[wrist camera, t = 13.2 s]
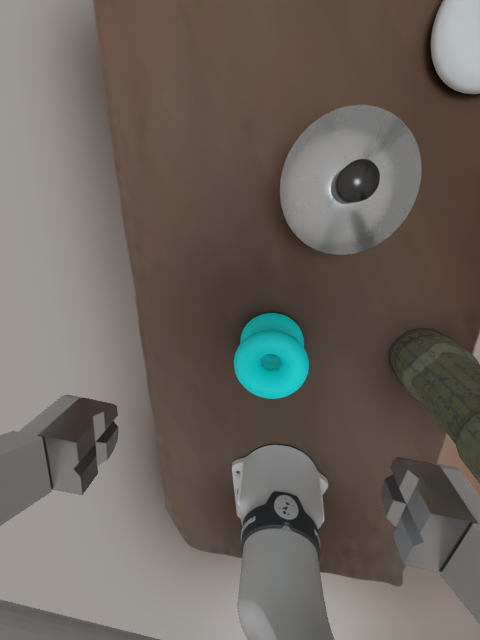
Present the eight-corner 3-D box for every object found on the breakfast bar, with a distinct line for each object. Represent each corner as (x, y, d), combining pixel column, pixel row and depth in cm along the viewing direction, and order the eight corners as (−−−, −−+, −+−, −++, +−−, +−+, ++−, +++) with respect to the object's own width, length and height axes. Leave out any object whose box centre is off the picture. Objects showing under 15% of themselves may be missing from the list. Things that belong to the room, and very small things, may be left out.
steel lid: (393, 259, 29) (415, 268, 25) (271, 246, 31) (270, 251, 26) (434, 114, 25) (473, 89, 20) (290, 105, 26) (293, 79, 21)
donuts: (304, 329, 33) (314, 399, 36) (298, 305, 42) (307, 362, 46) (224, 341, 35) (241, 406, 38) (235, 315, 44) (248, 369, 47)
